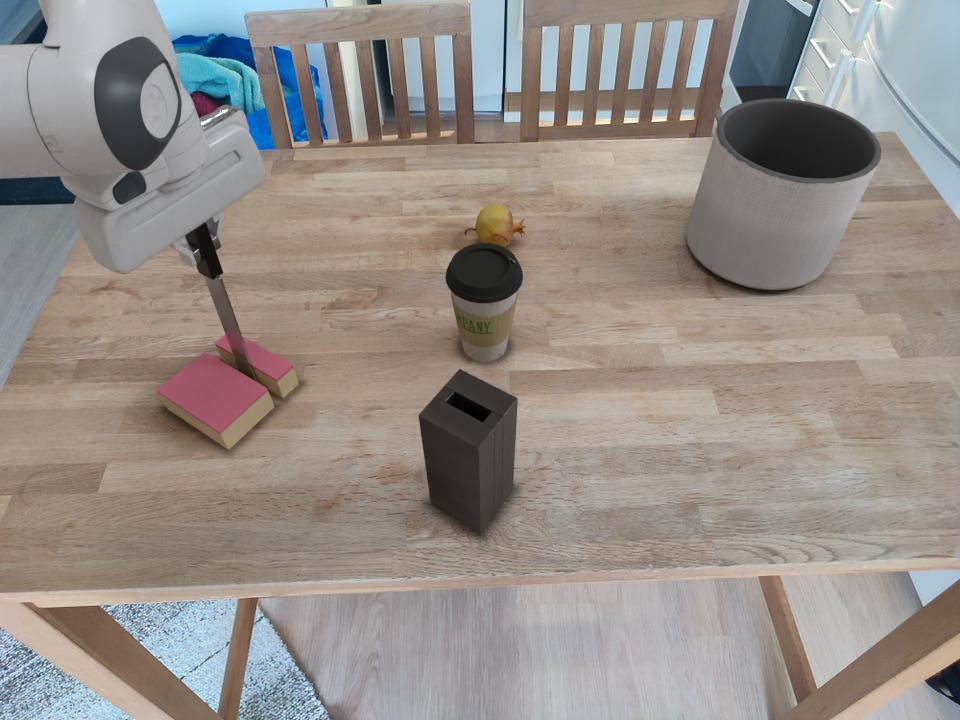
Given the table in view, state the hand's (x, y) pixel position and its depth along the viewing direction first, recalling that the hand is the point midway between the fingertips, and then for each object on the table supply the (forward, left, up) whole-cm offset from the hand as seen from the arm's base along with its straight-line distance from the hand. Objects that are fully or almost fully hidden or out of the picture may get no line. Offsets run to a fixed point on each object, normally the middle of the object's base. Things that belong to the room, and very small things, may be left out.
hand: (204, 254), depth 73 cm
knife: (-1, 0, -21) cm, 21 cm away
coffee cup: (+22, -23, -22) cm, 38 cm away
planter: (+63, -48, -22) cm, 82 cm away
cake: (-6, 0, -22) cm, 23 cm away
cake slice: (+1, 0, -22) cm, 22 cm away
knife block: (+1, -35, -22) cm, 41 cm away
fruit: (+42, -12, -22) cm, 49 cm away
